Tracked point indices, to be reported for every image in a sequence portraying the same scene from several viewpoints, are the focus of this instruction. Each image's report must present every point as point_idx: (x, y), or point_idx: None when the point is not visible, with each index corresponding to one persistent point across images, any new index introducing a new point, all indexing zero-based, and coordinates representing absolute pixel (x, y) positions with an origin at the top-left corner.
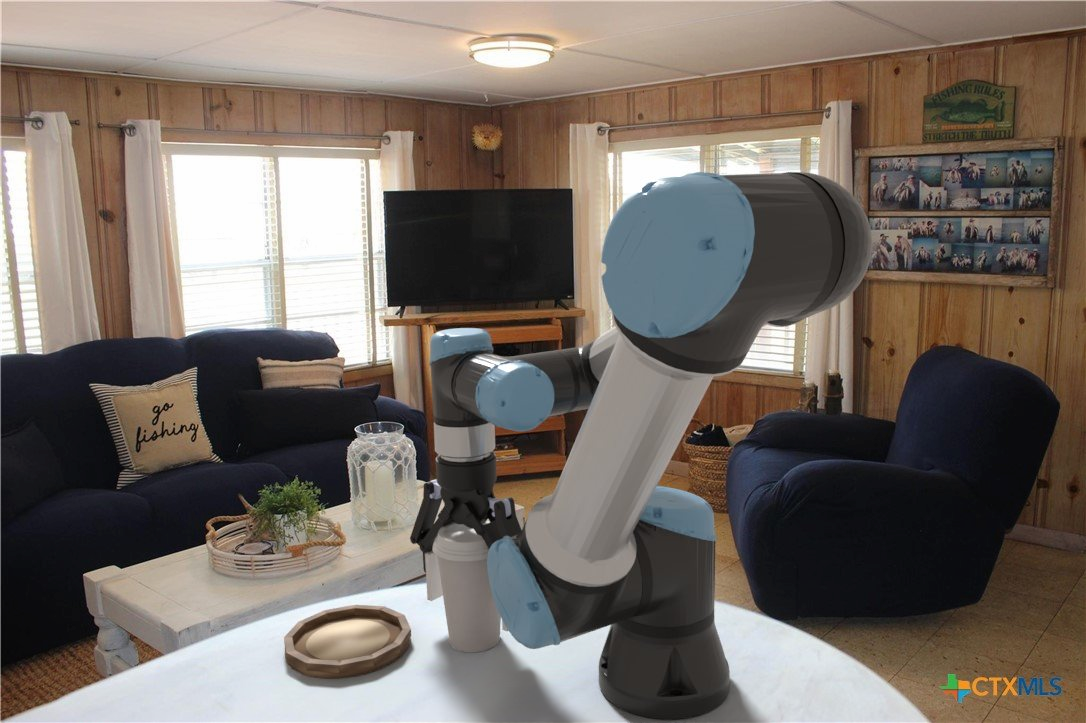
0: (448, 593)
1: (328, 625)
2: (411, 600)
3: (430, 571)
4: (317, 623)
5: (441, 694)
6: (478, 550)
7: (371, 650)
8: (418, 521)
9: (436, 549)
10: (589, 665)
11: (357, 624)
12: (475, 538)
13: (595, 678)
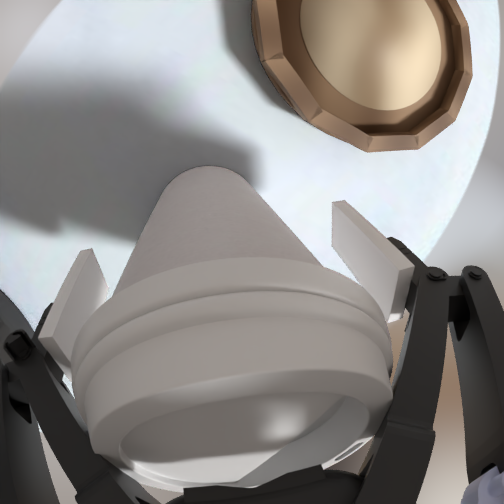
0: (208, 204)
1: (440, 53)
2: (410, 215)
3: (369, 242)
4: (454, 49)
5: (77, 60)
6: (79, 400)
7: (311, 26)
8: (501, 333)
9: (288, 284)
10: (33, 301)
11: (412, 82)
12: (160, 446)
13: (4, 287)
